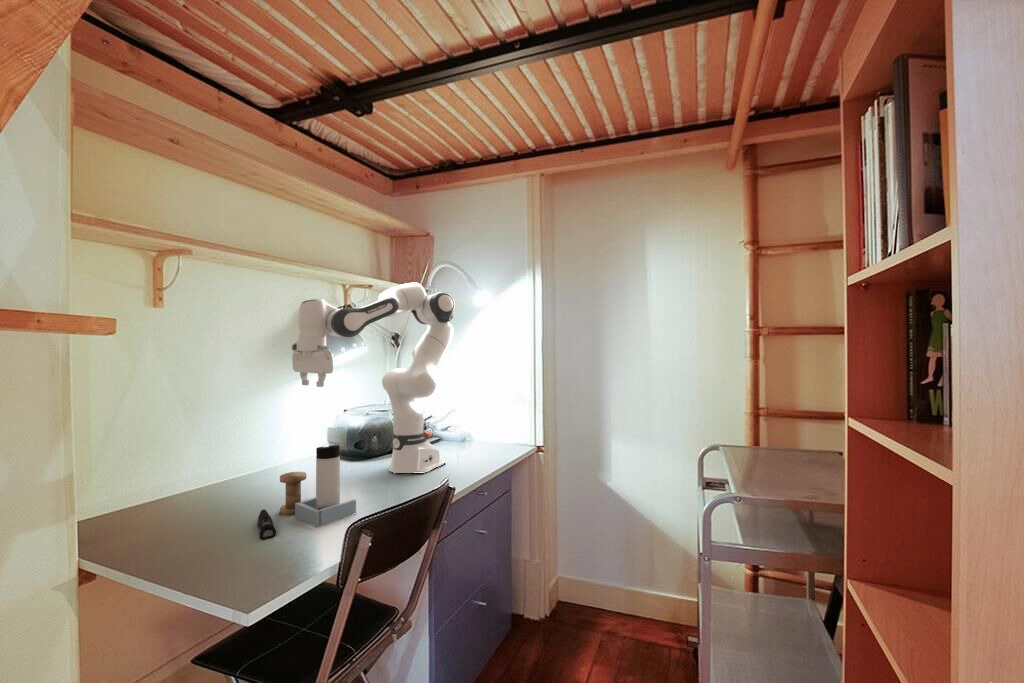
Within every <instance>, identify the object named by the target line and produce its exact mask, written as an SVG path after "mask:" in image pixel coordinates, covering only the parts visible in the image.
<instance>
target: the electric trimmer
mask: <svg viewBox="0 0 1024 683" xmlns="http://www.w3.org/2000/svg"><path fill="white" fill-rule="evenodd" d="M257 528H259V534H258V535H259V536H258V537H259V539H260V540H262V541H265V540H269V539H274V538H275V537H276V536H277V530H276V527H275V525H274V521H273V520H272V517H271V516H270V514H269V513H268V510H266V509H265V508H263V509H261V511H260V512H259V515H258V518H257Z"/></svg>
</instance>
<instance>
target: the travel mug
mask: <svg viewBox="0 0 1024 683" xmlns="http://www.w3.org/2000/svg"><path fill="white" fill-rule="evenodd" d="M340 447H341V446H340V445H339V444H333V445H328V446H319V447H316V449H315V451H316V455H315V456H316V457H315V465H316V466H315V485H316V486H315V497H316V509H317V510H321V509H324V508H327V507H330V506H333V505H336V504H340V503H341V502H340V501H341V478H340V477H341V458H340V457H341V454H340V452H341V450H340V449H341V448H340Z"/></svg>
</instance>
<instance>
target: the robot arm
mask: <svg viewBox="0 0 1024 683" xmlns="http://www.w3.org/2000/svg"><path fill="white" fill-rule="evenodd" d="M455 302H456V301H455V300H454V297H453V296H452V295H451V294H450V293H449V292H445V291H439V292H438V291H437V292H435V293H433V294H430V295H429V294H428V293H427V292H426V290H425V288H424V287H423V285H422V284H420V283H419V282H408V283H407V282H406V283H403V284H399V285H395V286H392V287H390V288H388V289H386V290H384V291H383V292H381V293H379V295H378V298H377V301H374V302H372V303H370V304H367V305H365V306H362V307H358V308H357V307H344V308H338V307H335V306H333V305H331V304H329V303H328V302H327V301H325V299H323V298H314V299H307V300H304V301H302V302H301V303H300V305H299V310H298V328H299V333H298V340H297V341H296V342H295V343H293V344H292V345H291V348H290V349H291V351H292V353H291V354H292V357H291V359H292V361H291V362H292V369H293V372H294V373H295V372H296V373H299V377H300V379H301V385H302V386H309V385H310V380H309V379H308V374H310V373H311V374H317V377H318V378H317V381H316V382H315V383H316V384H315V385H316V387H317V388H323V387H324V386H325V385H324V384H325V380H326V378H327V377H326V376H327V375H329V374H332V373H333V371H334V360H333V354H332V352H331V349H330V348H329V346H327V335H329V336H332V337H344V338H354V337H355V336H357V335H358V334H361V332H362V331H363V330H364V329H366V327H368V325H370V324H372V323H375V322H377V321H379V320H381V319H383V318H384V319H385V318H393V317H398V316H401V315H404V314H405V313H409V312H411V313H412V315H413V317H414V319H415V320H416V321H417V322H418V323H420V324H422V325H427V328H426V331H425V332H424V333H423V335H422V336H421V337H420V339H419V340H418V342H417V344H416V345H415V347H414V348H413V349H412V352H411V355H412V358H413V359H412V362H411V365H410V366H409V367H408V368H404V367H396V368H392V369H390V370H388V371H386V372H385V373H384V374H383V377H382V379H381V380H382V381H381V383H382V387H383V389H384V390H385V391H386V394H387V395H388V397H389V398H388V399H389V401H390V404H391V408H392V414H393V433H392V438H391V439H392V441H391V442H392V456H391V461H390V465H389V470H388V471H389V472H390V471H391V472H390V473H392V472H393V473H392V474H396V473H414V472H426V471H428V470H430V469H433V468H436V467H438V466H440V465H442V464H444V463H446V460H444V459H441V457H440V451H439V449H438V448H437V447H436V446H435V445H433V444H431V442H429V441H428V440H427V438H431V437H432V432H429V431H423V430H424V413H423V410H422V408H421V407H420V406H419V403H418V402H417V399H421V398H427V397H430V396H431V395H432V394H434V391H435V389H436V385H437V384H436V383H437V381H436V378H435V371H436V368H437V366H438V364H439V362H440V361H441V359H442V357H443V355H444V354H445V353H446V351H447V349H448V347H449V346H450V343H451V341H452V339H453V337H454V332H455V331H454V327H453V325H452V324H451V323H450V322H451V321H452V320H453V318H454V311H455V307H456V303H455ZM438 468H439V467H438ZM436 469H437V468H436Z"/></svg>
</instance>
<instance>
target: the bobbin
mask: <svg viewBox="0 0 1024 683" xmlns="http://www.w3.org/2000/svg"><path fill="white" fill-rule="evenodd" d="M306 479H307V473H306V472H305V471H290V472H286V473H283V474H281V475H280V476H279V482H280V483H281V484H282V483H283V484H285V504H284V505H281V507H279V515H281V516H295V503H298V502H301V501H302V500H301V498H302V493H301V492H302V490H301V489H302V485H301V484H302V483H301V482H303V481H305V480H306Z"/></svg>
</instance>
